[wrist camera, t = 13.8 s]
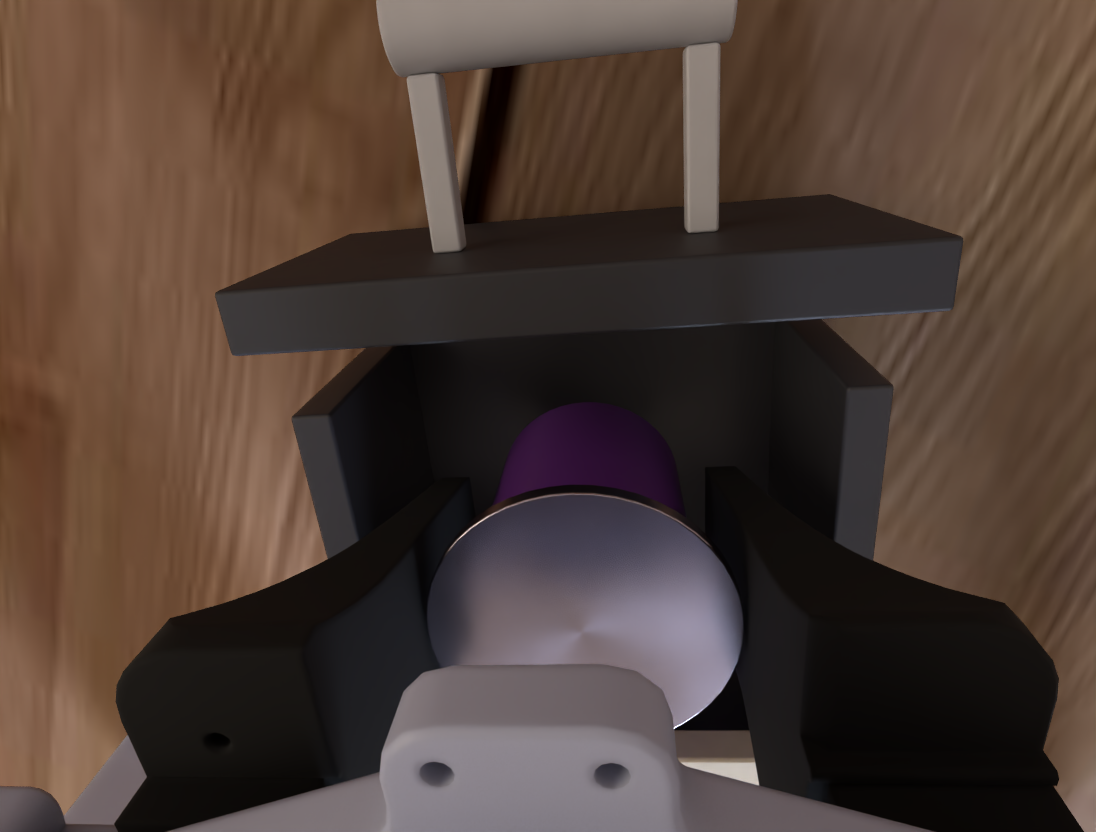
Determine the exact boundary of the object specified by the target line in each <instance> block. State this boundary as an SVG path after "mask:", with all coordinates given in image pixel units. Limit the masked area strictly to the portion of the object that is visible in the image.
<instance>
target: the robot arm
mask: <svg viewBox="0 0 1096 832" xmlns="http://www.w3.org/2000/svg"><path fill="white" fill-rule="evenodd" d="M475 517H476V515H475V508H474V502H473V495H472V489H471V482H470V477H451V478H441V479H440V480H438V481H437V482H435V483H434V484H433V485H431V486H430V487H429V488H428V489H426V490H425V491H424V492H423V493H421V494H420V495H419V496H418V497H416V498H415V499H414V500H413V501H411V502H410V503H409V504H408V505H406V506H405V507H404V508H403V509H401V510H400V511H399V512H397V513H396V514H395V515H394V516H392V517H391V518H390V519H388V520H387V521H386V522H384V523H383V524H381V525H380V526H379V527H377V528H376V529H374V530H373V531H372V532H370V533H369V534H367V535H366V536H365V537H363V538H362V539H360V540H359V541H357V542H356V543H354V544H353V545H351V546H349V547H348V548H346V549H345V550H343V551H341V552H339V553H338V554H336V555H334V556H332V557H331V558H329V559H327V560H325V561H324V562H322V563H320V564H318V565H316V566H314V567H312V568H310V569H308V570H305V571H303V572H301V573H299V574H297V575H295V576H293V577H291V578H288V579H286V580H284V581H282V582H280V583H278V584H275V585H273V586H270V587H268V588H265V589H263V590H260V591H257V592H255V593H252V594H249V595H246V596H244V597H241V598H238V599H235V600H232V601H229V602H226V603H223V604H220V605H216V606H213V607H209V608H205V609H202V610H198V611H195V612H191V613H188V614H184V615H181V616H177V617H173V618H170V619H169V620H168V621H167V622H166V623H165V625H164V626H163V627H162V628H161V629H160V630H159V631H158V632H157V634H156V635H155V636H154V637H153V638H152V639H151V640H150V642H149V643H148V644H147V645H146V646H145V647H144V648H143V650H142V651H141V652H140V653H139V654H138V655H137V656H136V657H135V659H134V660H133V661H132V662H131V663H130V664H129V665H128V667H127V668H126V669H125V670H124V671H123V673H122V675H121V677H120V679H119V681H118V684H117V688H116V704H117V708H118V711H119V714H120V718H121V721H122V723H123V726H124V728H125V730H126V732H127V734H128V735H127V736H126V737H125V739H124V740H123V741H122V742H121V744H120V745H119V746H118V747H117V749H116V750H115V751H114V753H113V754H112V755H111V756H110V758H109V759H108V760H107V761H106V763H105V764H104V765H103V767H102V768H101V769H100V770H99V772H98V773H97V774H96V775H95V777H94V778H93V779H92V781H91V782H90V783H89V784H88V786H87V787H86V788H85V790H84V791H83V792H82V793H81V795H80V796H79V797H78V798H77V800H76V801H75V802H74V804H73V805H72V806H71V807H70V809H69V810H68V811H67V812H66V814H65V815H64V816H63V813H62V810H61V808H60V806H59V804H58V802H57V801H56V800H55V798H54V797H53V796H52V795H51V794H49V793H48V792H46V791H44V790H42V789H39V788H34V787H15V786H0V832H1084V831H1083V830H1082V828H1081V827H1080V825H1079V824H1078V822H1077V821H1076V819H1075V818H1074V816H1073V815H1072V813H1071V812H1070V810H1069V809H1068V807H1067V806H1066V804H1065V803H1064V801H1063V800H1062V798H1061V797H1060V795H1059V794H1058V792H1057V791H1056V790H1055V788H1054V787H1053V786H1057V784H1058V781H1059V776H1058V772H1057V770H1056V769H1055V767H1054V766H1053V764H1052V763H1051V761H1050V760H1049V758H1048V757H1047V756H1046V754H1045V753H1044V751H1043V748H1044V744H1045V741H1046V737H1047V733H1048V730H1049V726H1050V722H1051V719H1052V715H1053V711H1054V708H1055V704H1056V701H1057V694H1058V682H1059V678H1058V675H1057V672H1056V669H1055V665H1054V662H1053V660H1052V659H1051V658H1050V656H1049V655H1048V654H1047V653H1046V651H1045V650H1044V649H1043V648H1042V646H1041V645H1040V644H1039V643H1038V641H1037V640H1036V639H1035V637H1034V636H1033V635H1032V634H1031V632H1030V631H1029V630H1028V628H1027V627H1026V626H1025V625H1024V624H1023V623H1022V621H1021V620H1020V619H1019V618H1018V617H1017V616H1016V615H1015V614H1014V613H1013V612H1012V610H1011V609H1010V608H1009V607H1008V606H1007V605H1006V604H1005V603H1003V602H999V601H995V600H991V599H987V598H983V597H979V596H975V595H971V594H967V593H963V592H959V591H955V590H951V589H948V588H944V587H941V586H938V585H935V584H932V583H929V582H926V581H923V580H920V579H917V578H914V577H911V576H909V575H906V574H904V573H901V572H898V571H896V570H893V569H891V568H888V567H886V566H884V565H882V564H879V563H877V562H875V561H872V560H870V559H868V558H866V557H864V556H862V555H860V554H857V553H855V552H853V551H851V550H850V549H848V548H846V547H844V546H842V545H841V544H839V543H837V542H835V541H833V540H832V539H830V538H828V537H826V536H825V535H823V534H821V533H820V532H818V531H817V530H815V529H813V528H812V527H811V526H809V525H808V524H806V523H805V522H803V521H802V520H800V519H799V518H797V517H796V516H795V515H793V514H792V513H791V512H789V511H788V510H787V509H785V508H784V507H783V506H781V505H780V504H779V503H778V502H776V501H775V500H774V499H773V498H771V497H770V496H769V495H768V494H767V493H765V492H764V491H763V490H762V489H761V488H760V487H759V486H757V485H756V484H755V483H754V482H753V481H752V480H751V479H749V478H748V477H747V476H746V475H745V474H744V473H743V472H742V471H740V470H739V469H738V468H737V467H736V466H722V467H705V534H706V535H707V536H708V537H709V538H710V539H711V540H712V541H713V543H714V544H715V545H716V546H717V547H718V549H719V550H720V551H721V552H722V554H723V556H724V557H725V559H726V561H727V562H728V564H729V566H730V567H731V569H732V572H733V574H734V577H735V579H736V582H737V584H738V587H739V591H740V594H741V599H742V603H743V608H744V615H745V635H744V643H743V648H742V651H741V655H740V658H739V661H738V664H737V666H736V668H735V669H736V672H737V675H738V679H739V683H740V687H741V691H742V695H743V699H744V705H745V710H746V715H747V720H748V726H749V731H750V736H751V742H752V747H753V753H754V759H755V764H756V770H757V775H758V781H759V785H755V784H751V783H748V782H744V781H740V780H736V779H732V778H729V777H725V776H721V775H717V774H713V773H710V772H706V771H702V770H698V769H694V768H691V767H687V766H685V765H683V764H682V763H680V762H679V760H678V758H677V753H676V743H675V734H674V725H673V716H672V713H671V710H670V708H669V705H668V702H667V700H666V697H665V695H664V692H663V690H662V689H661V688H660V687H658V686H657V685H655V684H654V683H653V682H651V681H650V680H649V679H647V678H646V677H644V676H643V675H642V674H640V673H639V672H638V671H635V670H630V669H625V668H620V667H615V666H609V665H604V664H543V665H453V666H449V667H445V668H441V667H440V665H439V663H438V661H437V659H436V657H435V654H434V652H433V650H432V646H431V643H430V639H429V636H428V631H427V623H426V600H427V595H428V591H429V586H430V582H431V580H432V577H433V575H434V572H435V570H436V567H437V564H438V562H439V560H440V558H441V556H442V554H443V553H444V551H445V549H446V548H447V546H448V544H449V543H450V542H451V541H452V540H453V538H454V537H455V536H456V535H457V533H458V532H459V531H460V530H461V529H462V528H463V527H464V526H466V525H467V524H468V523H469V522H470V521H471V520H472V519H473V518H475Z"/></svg>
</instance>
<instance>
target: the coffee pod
mask: <svg viewBox="0 0 1096 832" xmlns="http://www.w3.org/2000/svg"><path fill="white" fill-rule="evenodd" d="M426 623H427V631H428V636H429V639H430V643H431V646H432V650H433V652H434V654H435V657H436V659H437V661H438V663H439V665H440V667H441V668H445V667H449V666H453V665H543V664H604V665H609V666H615V667H620V668H625V669H630V670H635V671H638V672H639V673H640V674H642V675H643V676H644V677H646V678H647V679H649V680H650V681H651V682H653V683H654V684H655V685H657V686H658V687H660V688H661V689H662V690H663V692H664V695H665V697H666V700H667V702H668V705H669V708H670V710H671V713H672V716H673V725H674V728H676V727H678V726H680V725H682V724H684V723H685V722H687V721H688V720H690V719H691V718H693V717H694V716H696V715H697V714H699V713H700V712H701V711H702V710H703V709H705V708H706V707H707V706H708V705H709V704H710V703H711V702H712V701H713V700H714V699H715V698H716V697H717V696H718V695H719V694H720V692H721V691H722V690H723V688H724V687H725V685H726V684H727V683H728V681H729V680H730V678H731V676H732V674H733V672H734V670H735V668H736V666H737V664H738V661H739V658H740V655H741V651H742V648H743V643H744V635H745V615H744V608H743V603H742V599H741V594H740V591H739V587H738V584H737V582H736V579H735V577H734V574H733V572H732V569H731V567H730V566H729V564H728V562H727V561H726V559H725V557H724V556H723V554H722V552H721V551H720V550H719V549H718V547H717V546H716V545H715V544H714V543H713V541H712V540H711V539H710V538H709V537H708V536H707V535H706V534H705V533H704V532H703V531H702V530H701V529H700V528H699V527H697V526H696V525H695V524H694V523H693V522H691V521H690V520H688V519H687V518H686V513H685V508H684V503H683V498H682V492H681V487H680V482H679V477H678V472H677V467H676V463H675V459H674V457H673V454H672V452H671V449H670V448H669V446H668V444H667V442H666V441H665V439H664V438H663V437H662V436H661V434H660V433H659V432H658V431H657V430H656V429H655V428H654V427H653V426H652V425H651V424H650V423H649V422H647V421H646V420H644V419H643V418H642V417H640V416H638V415H636V414H635V413H633V412H631V411H629V410H626V409H624V408H621V407H618V406H614V405H610V404H605V403H597V402H582V403H573V404H569V405H564V406H560V407H558V408H555V409H552V410H550V411H548V412H546V413H544V414H542V415H540V416H539V417H538V418H536V419H535V420H533V421H532V422H531V423H530V424H529V425H527V426H526V427H525V428H524V429H523V430H522V432H521V433H520V434H519V435H518V437H517V438H516V440H515V441H514V443H513V445H512V446H511V449H510V451H509V453H508V456H507V459H506V462H505V466H504V469H503V472H502V476H501V479H500V482H499V485H498V489H497V492H496V495H495V499H494V502H493V505H492V507H490V508H488V509H487V510H485V511H484V512H482V513H481V514H479V515H478V516H476V517H475V518H473V519H472V520H471V521H470V522H469V523H468V524H467V525H466V526H464V527H463V528H462V529H461V530H460V531H459V532H458V533H457V535H456V536H455V537H454V538H453V540H452V541H451V542H450V543H449V544H448V546H447V548H446V549H445V551H444V553H443V554H442V556H441V558H440V560H439V562H438V564H437V567H436V570H435V572H434V575H433V577H432V580H431V582H430V586H429V591H428V595H427V600H426Z"/></svg>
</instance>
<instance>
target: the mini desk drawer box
mask: <svg viewBox="0 0 1096 832" xmlns="http://www.w3.org/2000/svg"><path fill="white" fill-rule="evenodd" d="M674 734H675V743H676V753H677V758H678V760H679V762H680V763H682V764H683V765H685V766H687V767H691V768H694V769H698V770H702V771H706V772H710V773H713V774H717V775H721V776H725V777H729V778H732V779H736V780H740V781H744V782H748V783H751V784H755V785H759V781H758V775H757V770H756V764H755V759H754V753H753V747H752V742H751V736H750V731H749V730H674Z"/></svg>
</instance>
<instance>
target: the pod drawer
mask: <svg viewBox="0 0 1096 832" xmlns="http://www.w3.org/2000/svg"><path fill="white" fill-rule="evenodd" d="M737 3H738V0H376V5H377V16H378V23H379V28H380V33H381V38H382V42H383V45H384V49H385V52H386V55H387V57H388V60H389V62H390V64H391V66H392V68H393V70H394V72H395V73H396V74H397V75H398V76H400V77H407V86H408V92H409V99H410V105H411V112H412V118H413V125H414V131H415V138H416V144H417V151H418V157H419V164H420V170H421V177H422V183H423V190H424V196H425V203H426V209H427V216H428V222H429V227H428V228H416V229H404V230H392V231H380V232H368V233H356V234H349V235H347V236H345V237H342V238H340V239H338V240H335V241H333V242H331V243H328V244H326V245H324V246H321V247H319V248H317V249H314V250H312V251H310V252H308V253H305V254H303V255H301V256H298V257H296V258H294V259H291V260H289V261H287V262H284V263H282V264H280V265H277V266H275V267H273V268H270V269H268V270H266V271H264V272H261V273H259V274H257V275H254V276H252V277H250V278H247V279H245V280H243V281H240V282H238V283H236V284H233V285H231V286H229V287H226V288H224V289H222V290H219V291H218V292H216V293H215V297H216V301H217V304H218V308H219V311H220V315H221V318H222V322H223V325H224V329H225V332H226V336H227V339H228V343H229V346H230V350H231V353H232V354H233V355H235V356H244V355H260V354H275V353H291V352H307V351H323V350H339V349H354V348H365V349H364V350H363V351H362V352H361V353H360V354H359V355H358V356H357V357H356V358H354V359H353V360H352V361H351V362H350V363H349V364H348V365H347V366H346V367H345V368H344V369H343V370H342V371H341V372H339V373H338V374H337V375H336V376H335V377H334V378H333V379H332V380H331V381H330V382H329V383H328V384H327V385H325V386H324V387H323V388H322V389H321V390H320V391H319V392H318V393H317V394H316V395H315V396H314V397H313V398H312V399H310V400H309V401H308V402H307V403H306V404H305V405H304V406H303V407H302V408H301V409H300V410H299V411H298V412H296V413H295V414H294V415H293V416H292V423H293V427H294V431H295V434H296V438H297V442H298V446H299V450H300V454H301V458H302V461H303V465H304V469H305V473H306V477H307V481H308V485H309V488H310V492H311V496H312V500H313V504H314V508H315V512H316V515H317V519H318V523H319V527H320V531H321V535H322V538H323V542H324V546H325V550H326V554H327V558H328V559H329V558H331V557H332V556H334V555H336V554H338V553H339V552H341V551H343V550H345V549H346V548H348V547H349V546H351V545H353V544H354V543H356V542H357V541H359V540H360V539H362V538H363V537H365V536H366V535H367V534H369V533H370V532H372V531H373V530H374V529H376V528H377V527H379V526H380V525H381V524H383V523H384V522H386V521H387V520H388V519H390V518H391V517H392V516H394V515H395V514H396V513H397V512H399V511H400V510H401V509H403V508H404V507H405V506H406V505H408V504H409V503H410V502H411V501H413V500H414V499H415V498H416V497H418V496H419V495H420V494H421V493H423V492H424V491H425V490H426V489H428V488H429V487H430V486H431V485H433V484H434V483H435V482H437V481H438V480H440V479H441V478H451V477H470V482H471V489H472V495H473V502H474V508H475V515H476V516H478V515H479V514H481V513H482V512H484V511H485V510H487V509H488V508H490V507H492V505H493V502H494V499H495V495H496V492H497V489H498V485H499V482H500V479H501V476H502V472H503V469H504V466H505V462H506V459H507V456H508V453H509V451H510V449H511V446H512V445H513V443H514V441H515V440H516V438H517V437H518V435H519V434H520V433H521V432H522V430H523V429H524V428H525V427H526V426H527V425H529V424H530V423H531V422H532V421H533V420H535V419H536V418H538V417H539V416H540V415H542V414H544V413H546V412H548V411H550V410H552V409H555V408H558V407H560V406H564V405H569V404H573V403H582V402H597V403H605V404H610V405H614V406H618V407H621V408H624V409H626V410H629V411H631V412H633V413H635V414H636V415H638V416H640V417H642V418H643V419H644V420H646V421H647V422H649V423H650V424H651V425H652V426H653V427H654V428H655V429H656V430H657V431H658V432H659V433H660V434H661V436H662V437H663V438H664V439H665V441H666V442H667V444H668V446H669V448H670V449H671V452H672V454H673V457H674V459H675V463H676V467H677V472H678V477H679V482H680V487H681V492H682V498H683V503H684V508H685V513H686V518H687V519H688V520H690V521H691V522H693V523H694V524H695V525H696V526H697V527H699V528H700V529H701V530H702V531H703V532H704V533H705V467H722V466H736V467H737V468H738V469H739V470H740V471H742V472H743V473H744V474H745V475H746V476H747V477H748V478H749V479H751V480H752V481H753V482H754V483H755V484H756V485H757V486H759V487H760V488H761V489H762V490H763V491H764V492H765V493H767V494H768V495H769V496H770V497H771V498H773V499H774V500H775V501H776V502H778V503H779V504H780V505H781V506H783V507H784V508H785V509H787V510H788V511H789V512H791V513H792V514H793V515H795V516H796V517H797V518H799V519H800V520H802V521H803V522H805V523H806V524H808V525H809V526H811V527H812V528H813V529H815V530H817V531H818V532H820V533H821V534H823V535H825V536H826V537H828V538H830V539H832V540H833V541H835V542H837V543H839V544H841V545H842V546H844V547H846V548H848V549H850V550H851V551H853V552H855V553H857V554H860V555H862V556H864V557H866V558H868V559H870V560H872V561H873V556H874V548H875V539H876V531H877V523H878V514H879V506H880V497H881V489H882V481H883V472H884V464H885V455H886V447H887V438H888V430H889V422H890V413H891V405H892V396H893V388H894V387H893V385H892V384H891V383H890V382H889V381H888V380H887V379H886V378H885V377H883V376H882V375H881V374H880V373H879V372H878V371H877V370H876V369H875V368H874V367H873V366H871V365H870V364H869V363H868V362H867V361H866V360H865V359H864V358H863V357H862V356H861V355H859V354H858V353H857V352H856V351H855V350H854V349H853V348H852V347H851V346H850V345H849V344H847V343H846V342H845V341H844V340H843V339H842V338H841V337H840V336H839V335H838V334H837V333H836V332H834V331H833V330H832V329H831V328H830V327H829V326H828V325H827V324H826V323H825V322H824V321H822V320H821V319H828V318H844V317H859V316H875V315H891V314H907V313H922V312H938V311H949V310H952V309H953V307H954V300H955V293H956V286H957V280H958V273H959V266H960V259H961V253H962V246H963V238H962V237H961V236H958V235H955V234H952V233H949V232H946V231H943V230H940V229H936V228H933V227H930V226H927V225H924V224H921V223H918V222H915V221H912V220H908V219H905V218H902V217H899V216H896V215H893V214H890V213H887V212H883V211H880V210H877V209H874V208H871V207H868V206H865V205H862V204H858V203H855V202H852V201H849V200H846V199H843V198H840V197H837V196H834V195H830V194H827V195H815V196H803V197H791V198H779V199H767V200H754V201H742V202H730V203H719V157H720V51H721V47H720V44H719V43H725V42H727V41H729V40H730V38H731V36H732V33H733V30H734V26H735V20H736V13H737ZM679 47H686V48H685V49H684V51H683V133H684V206H682V207H670V208H658V209H646V210H634V211H621V212H609V213H597V214H585V215H573V216H561V217H549V218H537V219H525V220H513V221H501V222H488V223H476V224H464V222H463V214H462V207H461V199H460V192H459V185H458V177H457V170H456V162H455V155H454V147H453V140H452V132H451V125H450V117H449V110H448V103H447V95H446V88H445V80H444V77H443V75H440V74H439V73H448V72H457V71H467V70H476V69H485V68H494V67H504V66H513V65H522V64H531V63H541V62H550V61H559V60H568V59H578V58H587V57H596V56H605V55H615V54H624V53H633V52H642V51H652V50H661V49H670V48H679ZM674 730H749V726H748V720H747V715H746V710H745V705H744V699H743V695H742V691H741V687H740V683H739V679H738V675H737V672H736V669H735V670H734V672H733V674H732V676H731V678H730V680H729V681H728V683H727V684H726V685H725V687H724V688H723V690H722V691H721V692H720V694H719V695H718V696H717V697H716V698H715V699H714V700H713V701H712V702H711V703H710V704H709V705H708V706H707V707H706V708H705V709H703V710H702V711H701V712H700V713H699V714H697V715H696V716H694V717H693V718H691V719H690V720H688V721H687V722H685V723H684V724H682V725H680V726H678V727H676V728H674Z"/></svg>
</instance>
